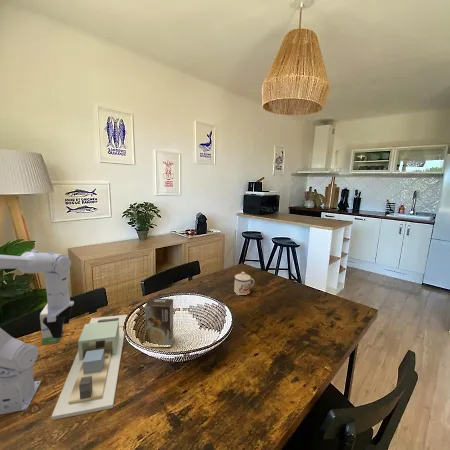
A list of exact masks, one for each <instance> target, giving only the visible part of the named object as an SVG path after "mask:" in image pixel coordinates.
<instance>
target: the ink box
mask: <svg viewBox="0 0 450 450" xmlns="http://www.w3.org/2000/svg"><path fill="white" fill-rule="evenodd" d="M47 306H48V303H46V304H45V306H44V307H43V309H42V310H41V312H40V313H39V321H40V329H41V330H40V331H41V332H40V333H41V342H42V345H51V344H56V343H59V341H60V339H61V338H53V337H52V335H51V332H50V330H49V329H48V327H47V326H46V325H44V324H43V319H44V318H45V317H47V315H48V308H47ZM58 316H59V315H58ZM63 332H64V328H63V330H62V333H63Z"/></svg>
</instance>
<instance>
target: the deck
mask: <svg viewBox="0 0 450 450" xmlns="http://www.w3.org/2000/svg"><path fill="white" fill-rule="evenodd" d="M126 317H127V318H128V314H121V315H110V316H101V317H92V318H90V320H89V323H88V324H90V323H100V322H109V321H118V320H119V342H118V347H117V353H116V355H113V349H112V353H111V358H110V363H109V367H108V372H107V377H106V381H105V386H104V391H103V396H102V397H101V398H96V399H90V400H85V401H80V402H74V403H69V404H68V401H69V398H70V396H71V393H72V390H73V387H74V384H75V382H76V379H77V376H78V373H79V370H80V368H81V365H82V362H83V360H79V349H78V350H77V353H76V355H75V357H74V360H73V362H72V365H71V368H70V370H69V372H68V375H67V377H66V380H65V382H64V384H63V387H62V390H61V392H60V395H59V397H58V400H57V402H56V404H55V407H54V409H53V411H52V414H51V420H52V421H55V420H59V419H64V418H69V417H74V416H80V415H84V414H89V413H94V412H99V411H104V410H110V409H113V408H114V404H115V397H116V390H117V384H118V379H119V373H120V372H119V371H120V367H121V366H120V364H121V359H122V352H123V347H124V339H125V334H124V331H123V326H124V322H125V319H126ZM107 342H112V339H110V340H105V343H107ZM92 344H96V341H95V342H89V344H88V345H92ZM87 348H88V347H87ZM86 351H87V349H86ZM85 354H86V352H85ZM84 356H85V355H84ZM83 359H84V358H83Z"/></svg>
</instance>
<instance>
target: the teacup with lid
mask: <svg viewBox="0 0 450 450" xmlns="http://www.w3.org/2000/svg"><path fill="white" fill-rule="evenodd" d="M254 284H255V280H254V278H252V276H250V274H248V273H246V272H245V271H241V273H237V274H235V275H234V287H233V288H234V289H233V292H235V293H236V294H235V293H234V294H235V295H237V296H239V295H247V294H249V293H250V294H251V288H253V286H254ZM250 294H249V295H250ZM247 296H248V295H247Z"/></svg>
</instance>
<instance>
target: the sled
mask: <svg viewBox="0 0 450 450" xmlns="http://www.w3.org/2000/svg"><path fill="white" fill-rule="evenodd" d="M100 349H104V356H105V361H104V365H103V369H102V372H95V373H89V374H83V362H82V365H81V368H80V370H79V373H78V376H77V379H76V382H75V384H74V387H73V390H72V393H71V396H70V398H69V401H68V404H69V403H74V402H80V401H85V400H90V399H96V398H101V397H102V396H103V391H104V386H105V381H106V377H107V372H108V367H109V363H110V358H111V353H112V349H113V348H112V342H107V343H105V340H102V341H96V344H92V345H88V348H87V351H93V350H100ZM87 351H86V352H87ZM84 357H85V356H84ZM83 360H84V359H83Z"/></svg>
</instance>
